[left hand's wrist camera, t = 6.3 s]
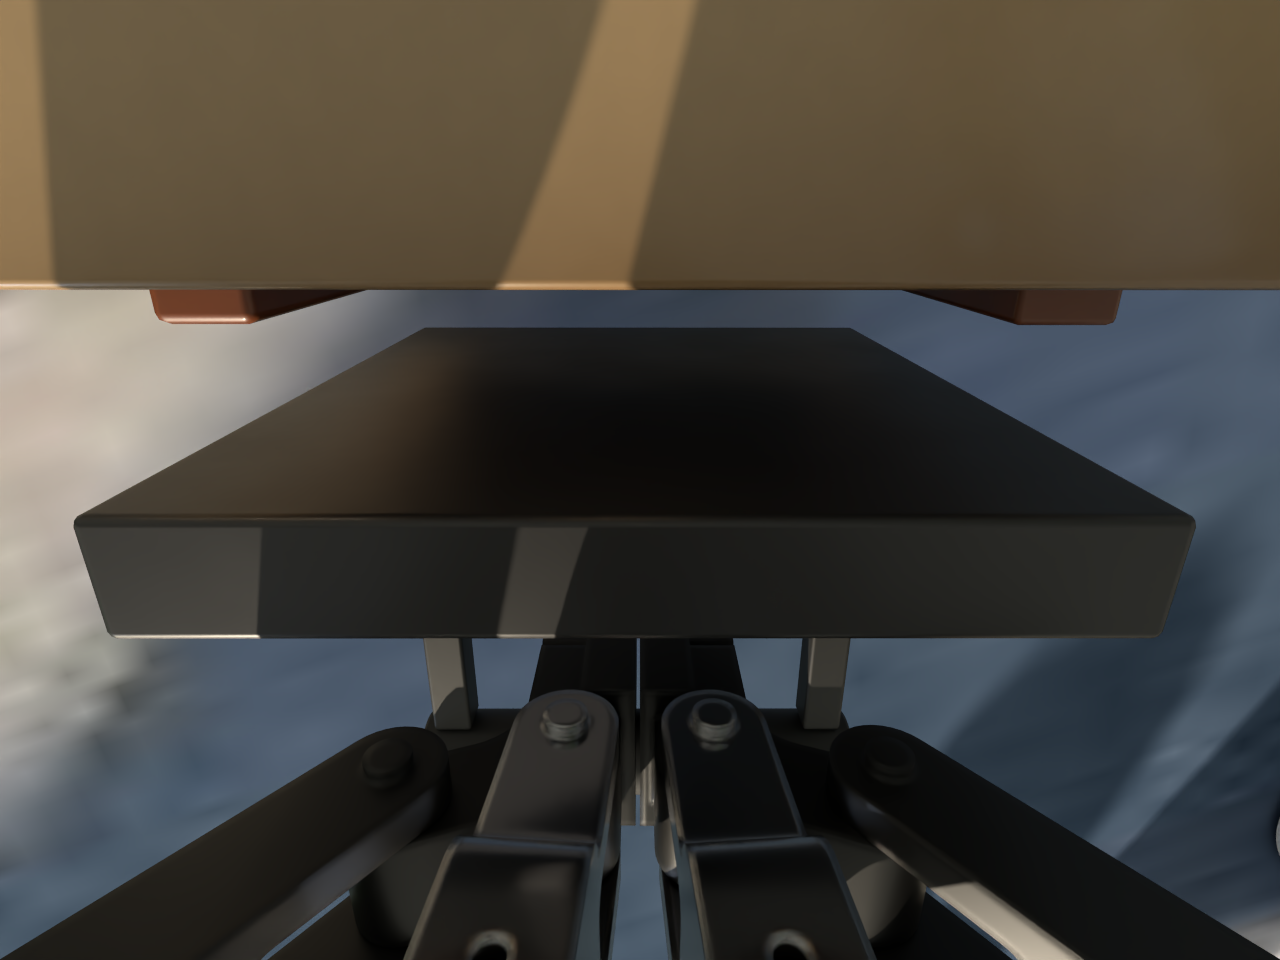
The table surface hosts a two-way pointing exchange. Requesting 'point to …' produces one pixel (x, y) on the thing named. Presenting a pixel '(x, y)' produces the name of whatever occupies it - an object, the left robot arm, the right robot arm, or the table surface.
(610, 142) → the tan wavy patterned box
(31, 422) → the table surface
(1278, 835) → the coffee cup
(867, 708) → the table surface
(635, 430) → the drawer
